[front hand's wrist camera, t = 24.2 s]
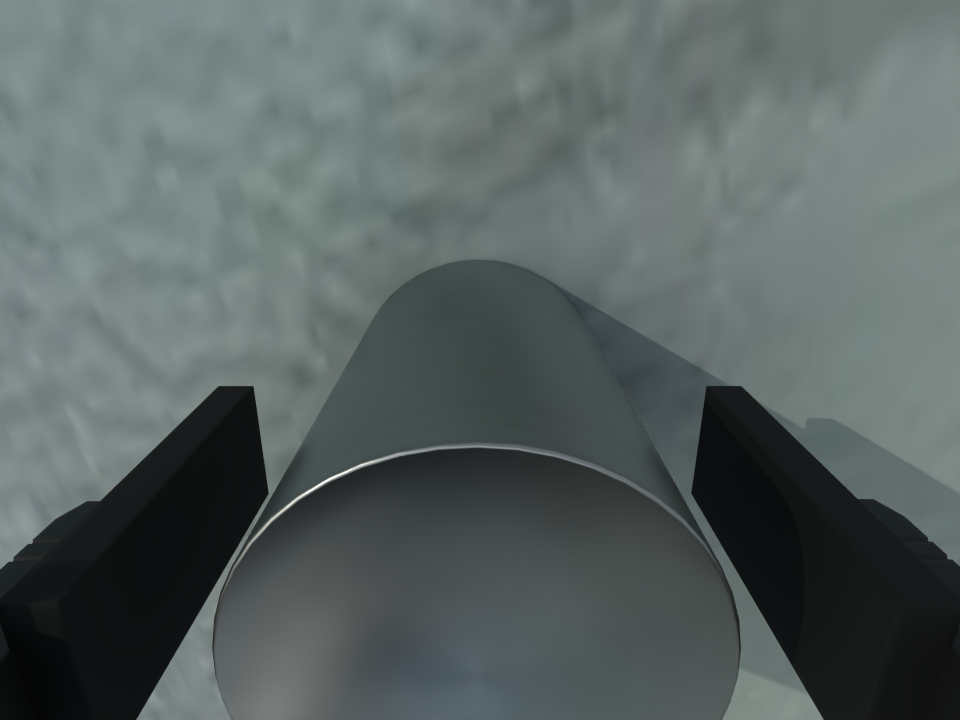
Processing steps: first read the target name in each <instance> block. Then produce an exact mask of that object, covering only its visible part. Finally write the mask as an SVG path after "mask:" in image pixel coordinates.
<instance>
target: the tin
mask: <svg viewBox="0 0 960 720" xmlns="http://www.w3.org/2000/svg"><path fill="white" fill-rule="evenodd" d="M740 652H741V644H740V626H739V618H738V614H737V609H736V605H735V601H734V597H733V593H732V591H731V588H730V586H729V584H728V581H727V579H726V577H725V574H724V572H723V570H722V567H721V565H720V564H719V562H718V560H717V558H716V556H715V555H714V553H713V551H712V549H711V547H710V546H709V544H708V542H707V540H706V538H705V537H704V535H703V533H702V531H701V529H700V528H699V526H698V524H697V522H696V520H695V519H694V517H693V515H692V513H691V511H690V510H689V508H688V506H687V504H686V502H685V501H684V499H683V497H682V495H681V493H680V492H679V490H678V488H677V486H676V484H675V483H674V481H673V479H672V477H671V475H670V474H669V472H668V470H667V468H666V466H665V465H664V463H663V461H662V459H661V457H660V456H659V454H658V452H657V450H656V448H655V447H654V445H653V443H652V441H651V439H650V438H649V436H648V434H647V432H646V430H645V429H644V427H643V425H642V423H641V421H640V420H639V418H638V416H637V414H636V412H635V411H634V409H633V407H632V405H631V403H630V402H629V400H628V398H627V396H626V394H625V393H624V391H623V389H622V387H621V385H620V384H619V382H618V380H617V378H616V376H615V375H614V373H613V371H612V369H611V367H610V366H609V364H608V362H607V360H606V358H605V357H604V355H603V353H602V351H601V349H600V348H599V346H598V344H597V342H596V340H595V339H594V337H593V335H592V333H591V331H590V330H589V328H588V326H587V324H586V322H585V321H584V319H583V317H582V316H581V314H580V313H579V311H578V309H577V308H576V307H575V306H574V305H573V303H572V302H571V301H570V300H569V299H568V297H567V296H566V295H564V294H563V293H562V292H561V291H560V290H559V289H558V288H557V287H556V286H554V285H553V284H551V283H550V282H548V281H547V280H545V279H544V278H542V277H541V276H539V275H537V274H535V273H533V272H531V271H529V270H526V269H523V268H520V267H518V266H515V265H512V264H507V263H502V262H497V261H485V260H472V261H460V262H455V263H450V264H445V265H442V266H439V267H436V268H433V269H430V270H428V271H426V272H424V273H422V274H420V275H418V276H416V277H415V278H413V279H412V280H410V281H409V282H407V283H406V284H404V285H403V286H401V287H400V288H399V289H398V290H397V291H396V292H395V293H393V294H392V295H391V296H390V297H389V299H388V300H387V301H386V302H385V303H384V304H383V306H382V307H381V308H380V309H379V311H378V313H377V314H376V316H375V317H374V319H373V320H372V322H371V324H370V326H369V327H368V329H367V331H366V333H365V334H364V336H363V338H362V340H361V341H360V343H359V345H358V347H357V348H356V350H355V352H354V354H353V355H352V357H351V359H350V361H349V362H348V364H347V366H346V368H345V369H344V371H343V373H342V375H341V376H340V378H339V380H338V382H337V383H336V385H335V387H334V389H333V390H332V392H331V394H330V396H329V397H328V399H327V401H326V402H325V404H324V406H323V408H322V409H321V411H320V413H319V415H318V416H317V418H316V420H315V422H314V423H313V425H312V427H311V429H310V430H309V432H308V434H307V436H306V437H305V439H304V441H303V443H302V444H301V446H300V448H299V450H298V451H297V453H296V455H295V457H294V458H293V460H292V462H291V464H290V465H289V467H288V469H287V471H286V472H285V474H284V476H283V478H282V479H281V481H280V483H279V485H278V486H277V488H276V490H275V492H274V493H273V495H272V497H271V499H270V500H269V502H268V504H267V506H266V507H265V509H264V511H263V513H262V514H261V516H260V518H259V520H258V521H257V523H256V525H255V527H254V528H253V530H252V532H251V534H250V535H249V537H248V539H247V541H246V542H245V544H244V546H243V548H242V549H241V551H240V553H239V555H238V556H237V558H236V560H235V562H234V563H233V565H232V567H231V570H230V572H229V574H228V576H227V579H226V581H225V583H224V586H223V588H222V590H221V593H220V597H219V601H218V605H217V610H216V614H215V618H214V630H213V658H214V667H215V675H216V679H217V682H218V686H219V690H220V693H221V697H222V700H223V702H224V705H225V707H226V709H227V711H228V713H229V715H230V718H231V720H722V719H723V717H724V714H725V712H726V710H727V708H728V706H729V704H730V701H731V698H732V694H733V691H734V688H735V684H736V681H737V677H738V669H739V661H740Z"/></svg>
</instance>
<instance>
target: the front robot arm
mask: <svg viewBox="0 0 960 720" xmlns="http://www.w3.org/2000/svg"><path fill="white" fill-rule="evenodd" d="M268 494H269V493H268V486H267V479H266V472H265V465H264V458H263V451H262V443H261V436H260V429H259V422H258V415H257V408H256V401H255V394H254V387H253V386H218V387H217V388H216V389H215V390H214V391H213V392H212V393H211V394H210V395H209V396H208V397H207V398H206V399H205V400H204V401H203V402H202V403H201V404H200V405H199V406H198V407H197V408H196V409H195V410H194V411H193V412H192V413H191V414H190V415H189V416H188V417H187V418H185V419H184V420H183V421H182V422H181V423H180V424H179V425H178V426H177V427H176V428H175V429H174V430H173V431H172V432H171V433H170V434H169V435H168V436H167V437H166V438H165V439H164V440H163V441H162V442H161V443H160V444H159V445H158V446H157V447H156V448H155V449H154V450H153V451H152V452H150V453H149V454H148V455H147V456H146V457H145V458H144V459H143V460H142V461H141V462H140V463H139V464H138V465H137V466H136V467H135V468H134V469H133V470H132V471H131V472H130V473H129V474H128V475H127V476H126V477H125V478H124V479H123V480H122V481H121V482H120V483H119V484H118V485H116V486H115V487H114V488H113V489H112V490H111V491H110V492H109V493H108V494H107V495H106V496H105V497H104V498H103V499H102V500H101V501H87V502H85V503H83V504H81V505H80V506H78V507H76V508H74V509H73V510H71V511H69V512H67V513H66V514H64V515H62V516H60V517H58V518H57V519H55V520H54V521H53V522H52V523H51V524H50V525H49V526H48V527H46V528H45V529H44V530H43V531H42V532H41V533H40V534H39V535H38V536H37V537H36V538H34V539H33V543H32V544H28V545H27V546H26V547H25V548H23V549H22V550H21V551H20V552H19V553H18V554H17V555H16V556H15V557H14V560H13V562H8V563H7V564H6V565H5V566H4V567H3V568H1V569H0V720H136V719H137V717H138V716H139V714H140V712H141V711H142V709H143V707H144V706H145V704H146V702H147V700H148V699H149V697H150V695H151V694H152V692H153V690H154V688H155V687H156V685H157V683H158V682H159V680H160V678H161V676H162V675H163V673H164V671H165V670H166V668H167V666H168V665H169V663H170V661H171V659H172V658H173V656H174V654H175V653H176V651H177V649H178V647H179V646H180V644H181V642H182V641H183V639H184V637H185V635H186V634H187V632H188V630H189V629H190V627H191V625H192V624H193V622H194V620H195V618H196V617H197V615H198V613H199V612H200V610H201V608H202V606H203V605H204V603H205V601H206V600H207V598H208V596H209V594H210V593H211V591H212V589H213V588H214V586H215V584H216V583H217V581H218V579H219V577H220V576H221V574H222V572H223V571H224V569H225V567H226V565H227V564H228V562H229V560H230V559H231V557H232V555H233V553H234V552H235V550H236V548H237V547H238V545H239V543H240V542H241V540H242V538H243V536H244V535H245V533H246V531H247V530H248V528H249V526H250V524H251V523H252V521H253V519H254V518H255V516H256V514H257V513H258V511H259V509H260V507H261V506H262V504H263V502H264V501H265V499H266V497H267V495H268ZM691 494H692V495H693V497H694V499H695V501H696V502H697V504H698V506H699V507H700V509H701V511H702V512H703V514H704V516H705V518H706V519H707V521H708V523H709V524H710V526H711V528H712V530H713V531H714V533H715V535H716V536H717V538H718V540H719V542H720V543H721V545H722V547H723V548H724V550H725V552H726V553H727V555H728V557H729V559H730V560H731V562H732V564H733V565H734V567H735V569H736V571H737V572H738V574H739V576H740V577H741V579H742V581H743V583H744V584H745V586H746V588H747V589H748V591H749V593H750V594H751V596H752V598H753V600H754V601H755V603H756V605H757V606H758V608H759V610H760V612H761V613H762V615H763V617H764V618H765V620H766V622H767V624H768V625H769V627H770V629H771V630H772V632H773V634H774V635H775V637H776V639H777V641H778V642H779V644H780V646H781V647H782V649H783V651H784V653H785V654H786V656H787V658H788V659H789V661H790V663H791V664H792V666H793V668H794V670H795V671H796V673H797V675H798V676H799V678H800V680H801V682H802V683H803V685H804V687H805V688H806V690H807V692H808V694H809V695H810V697H811V699H812V700H813V702H814V704H815V705H816V707H817V709H818V711H819V712H820V714H821V716H822V717H823V719H824V720H960V566H959V565H957V564H956V563H955V562H954V561H953V560H948V559H947V555H946V554H945V553H944V552H943V551H942V550H941V549H940V548H939V547H938V546H936V545H935V544H934V543H933V542H928V537H926V536H925V535H924V534H923V533H922V532H921V531H920V530H919V529H918V528H917V527H915V526H914V525H913V524H912V523H911V522H910V521H909V520H908V519H907V518H905V517H904V516H902V515H901V514H899V513H897V512H895V511H893V510H892V509H890V508H888V507H886V506H885V505H883V504H881V503H879V502H877V501H876V500H874V499H857V498H856V497H855V496H854V495H853V494H852V493H851V492H850V491H849V490H848V489H847V488H846V487H845V486H844V485H842V484H841V483H840V482H839V481H838V480H837V479H836V478H835V477H834V476H833V475H832V474H831V473H830V472H829V471H828V470H827V469H826V468H825V467H824V466H823V465H822V464H821V463H820V462H819V461H818V460H817V459H816V458H815V457H814V456H813V455H812V454H811V453H810V452H809V451H807V450H806V449H805V448H804V447H803V446H802V445H801V444H800V443H799V442H798V441H797V440H796V439H795V438H794V437H793V436H792V435H791V434H790V433H789V432H788V431H787V430H786V429H785V428H784V427H783V426H782V425H781V424H780V423H779V422H778V421H777V420H776V419H775V418H773V417H772V416H771V415H770V414H769V413H768V412H767V411H766V410H765V409H764V408H763V407H762V406H761V405H760V404H759V403H758V402H757V401H756V400H755V399H754V398H753V397H752V396H751V395H750V394H749V393H748V392H747V391H746V390H745V389H744V388H743V387H742V386H707V387H706V394H705V401H704V408H703V415H702V422H701V429H700V436H699V444H698V451H697V458H696V465H695V472H694V479H693V486H692V493H691Z"/></svg>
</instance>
